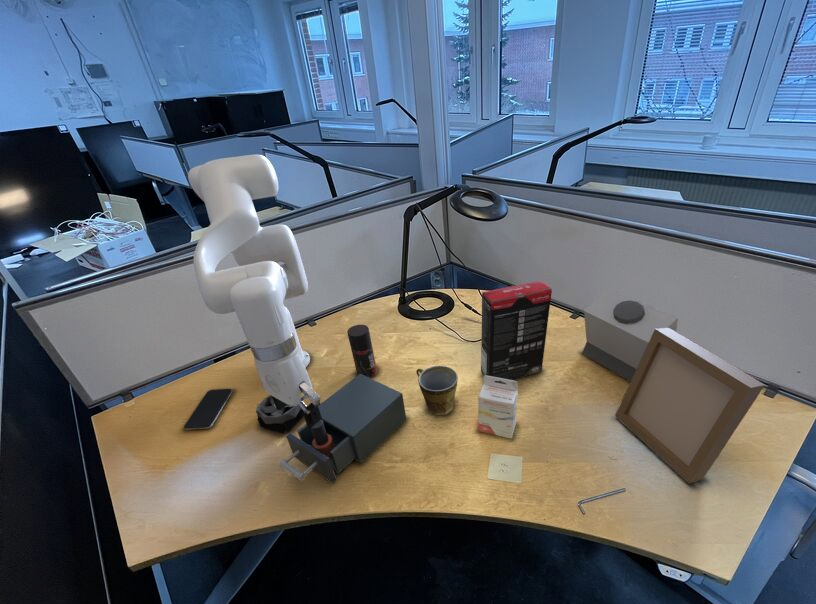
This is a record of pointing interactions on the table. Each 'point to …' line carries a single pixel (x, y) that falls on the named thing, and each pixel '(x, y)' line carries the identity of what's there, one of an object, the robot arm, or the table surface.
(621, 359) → the alarm clock
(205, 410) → the smartphone
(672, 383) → the photo frame
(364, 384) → the cabinet
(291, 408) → the cpu cooler
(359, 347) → the deodorant
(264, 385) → the robot arm
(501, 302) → the graphics card box
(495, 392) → the ink cartridge box
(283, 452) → the table surface
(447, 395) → the ceramic cup
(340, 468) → the drawer
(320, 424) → the nail polish bottle
